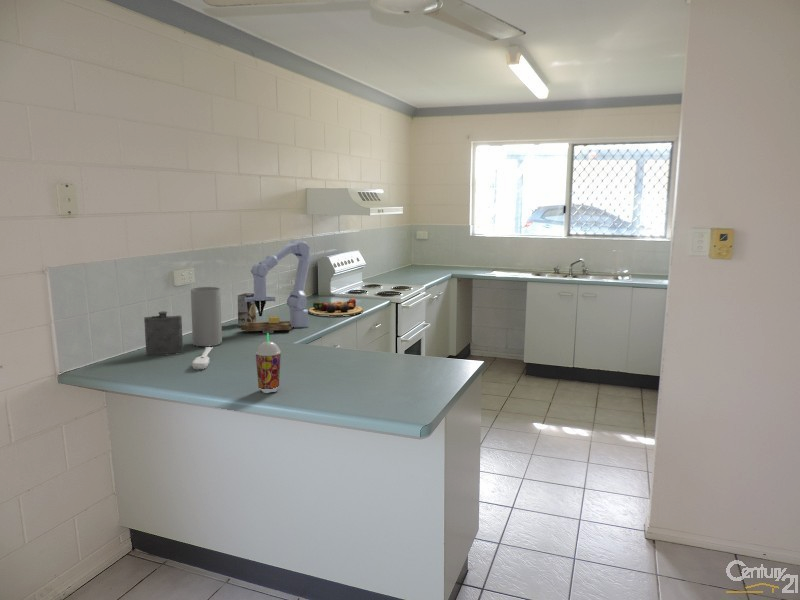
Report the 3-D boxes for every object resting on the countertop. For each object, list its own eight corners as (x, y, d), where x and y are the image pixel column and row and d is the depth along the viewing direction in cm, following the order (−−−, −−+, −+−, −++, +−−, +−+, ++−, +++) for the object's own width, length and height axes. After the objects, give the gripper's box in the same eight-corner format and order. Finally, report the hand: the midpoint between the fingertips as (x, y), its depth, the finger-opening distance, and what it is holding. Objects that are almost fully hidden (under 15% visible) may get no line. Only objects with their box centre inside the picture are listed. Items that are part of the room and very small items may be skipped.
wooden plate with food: (348, 306, 368) (348, 293, 367) (372, 314, 341) (372, 300, 340) (300, 311, 352) (299, 297, 350) (321, 320, 325) (321, 305, 323)
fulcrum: (272, 329, 295) (272, 326, 295) (273, 333, 287) (273, 330, 287) (262, 329, 294) (262, 327, 294) (262, 333, 286) (262, 330, 285)
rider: (279, 324, 294) (278, 315, 293) (279, 326, 289) (279, 317, 288) (268, 325, 293) (268, 316, 292) (269, 327, 288) (268, 317, 287)
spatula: (203, 353, 248) (202, 346, 247) (217, 353, 249) (216, 346, 248) (190, 370, 220) (190, 363, 220) (206, 370, 221) (206, 363, 221)
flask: (182, 354, 245) (181, 311, 242) (145, 356, 241) (143, 313, 238) (183, 351, 249) (181, 310, 246) (146, 353, 244) (144, 311, 241)
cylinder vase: (225, 345, 261) (223, 290, 257) (196, 348, 254) (194, 291, 250) (218, 339, 271) (216, 286, 267) (190, 342, 265) (187, 287, 261)
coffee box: (249, 326, 301) (248, 295, 299) (237, 326, 302) (236, 295, 300) (257, 323, 310) (256, 293, 307) (245, 322, 311) (245, 292, 309)
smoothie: (258, 387, 203) (257, 330, 200) (282, 387, 203) (281, 330, 200) (254, 395, 195) (253, 336, 191) (279, 394, 195) (279, 336, 192)
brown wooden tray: (289, 326, 297) (289, 320, 296) (290, 329, 289) (290, 323, 289) (240, 327, 291) (240, 322, 290) (240, 331, 283) (240, 325, 283)
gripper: (244, 290, 281) (245, 318, 283) (275, 289, 284) (275, 317, 286) (244, 288, 287) (245, 315, 290) (274, 287, 291) (275, 314, 293)
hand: (260, 316), depth 288 cm, fingers closed
